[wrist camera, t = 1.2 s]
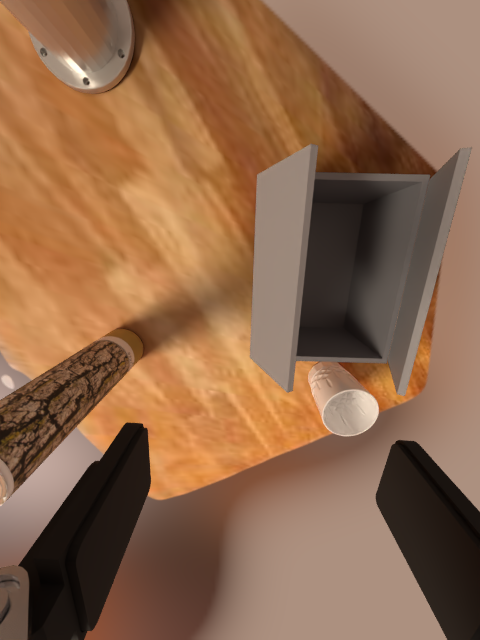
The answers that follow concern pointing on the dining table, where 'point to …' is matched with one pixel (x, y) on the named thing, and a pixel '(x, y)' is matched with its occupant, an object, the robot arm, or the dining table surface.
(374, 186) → the carton
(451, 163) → the flap
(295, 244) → the flap
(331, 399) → the white cup
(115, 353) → the paper tube
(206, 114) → the dining table surface
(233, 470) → the dining table surface
